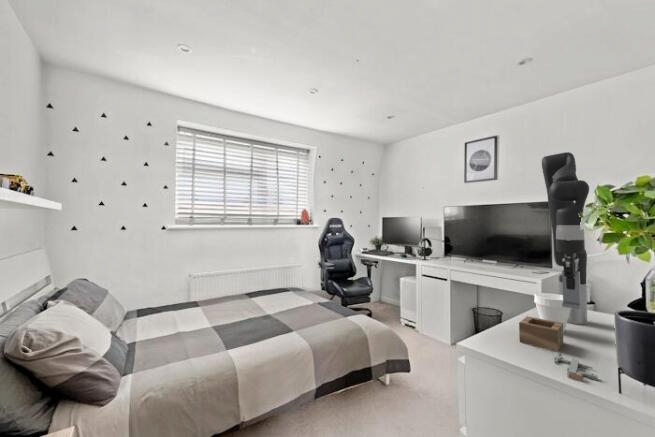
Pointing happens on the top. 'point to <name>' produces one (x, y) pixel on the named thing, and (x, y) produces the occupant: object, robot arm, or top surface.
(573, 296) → the grey upright bar
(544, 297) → the cup
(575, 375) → the clamp
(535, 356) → the top surface
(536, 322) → the well block
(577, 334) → the top surface
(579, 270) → the robot arm
